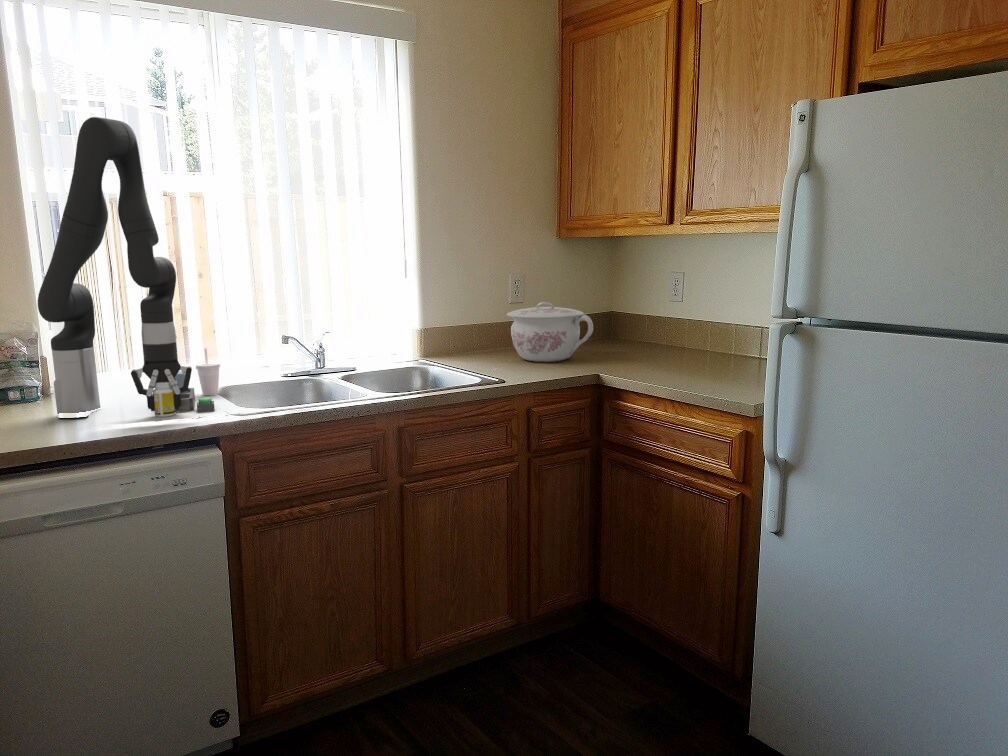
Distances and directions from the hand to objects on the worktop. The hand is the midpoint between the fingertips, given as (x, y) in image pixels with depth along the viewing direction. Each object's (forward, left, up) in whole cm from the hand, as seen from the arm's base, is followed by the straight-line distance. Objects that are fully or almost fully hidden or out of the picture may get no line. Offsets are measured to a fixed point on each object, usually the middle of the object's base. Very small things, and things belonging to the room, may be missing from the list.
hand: (165, 409), depth 186 cm
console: (+9, +2, -3) cm, 10 cm away
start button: (+9, +2, -4) cm, 10 cm away
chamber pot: (+122, +46, -3) cm, 131 cm away
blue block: (+2, +15, -1) cm, 15 cm away
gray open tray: (+2, +11, -3) cm, 12 cm away
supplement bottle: (0, 0, -2) cm, 2 cm away
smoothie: (+10, +24, -3) cm, 26 cm away
